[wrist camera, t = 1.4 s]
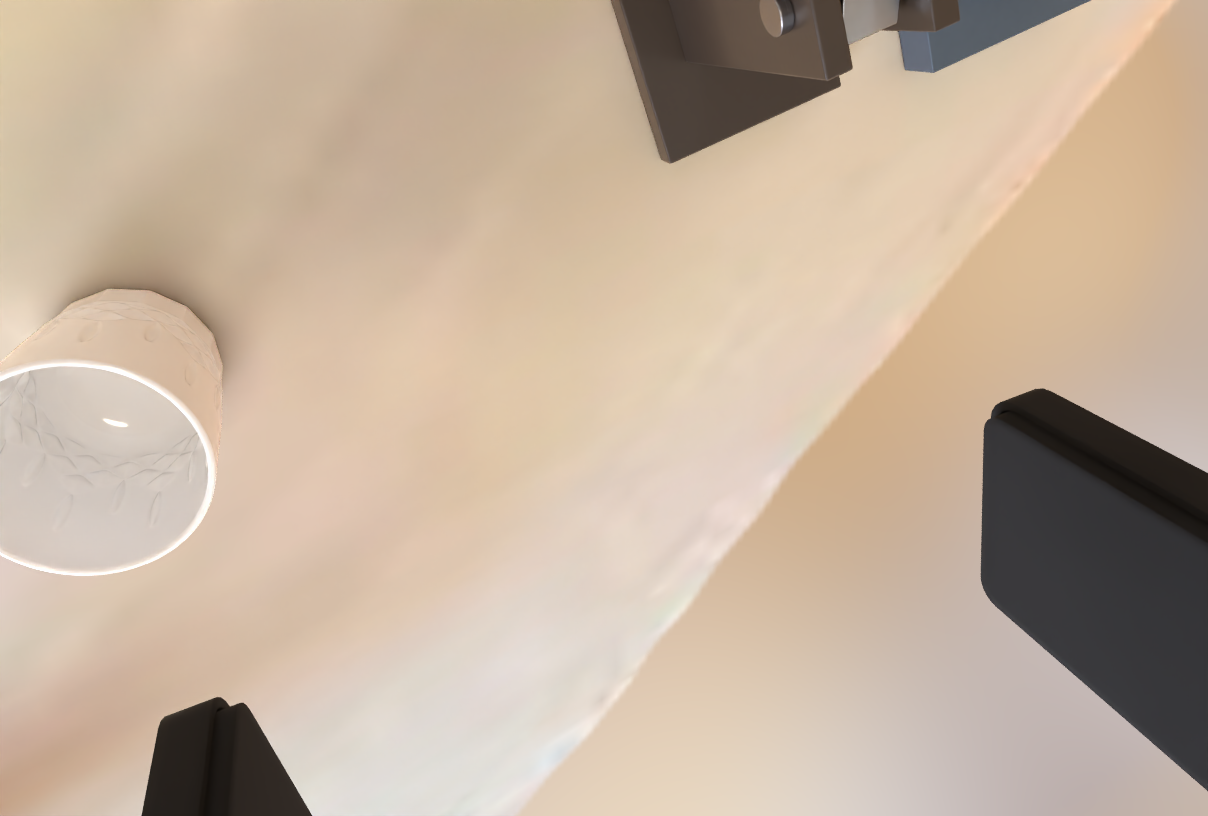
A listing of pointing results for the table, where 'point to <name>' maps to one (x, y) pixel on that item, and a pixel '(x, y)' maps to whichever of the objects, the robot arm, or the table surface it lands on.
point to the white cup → (108, 434)
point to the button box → (977, 30)
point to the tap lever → (868, 17)
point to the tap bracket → (741, 60)
